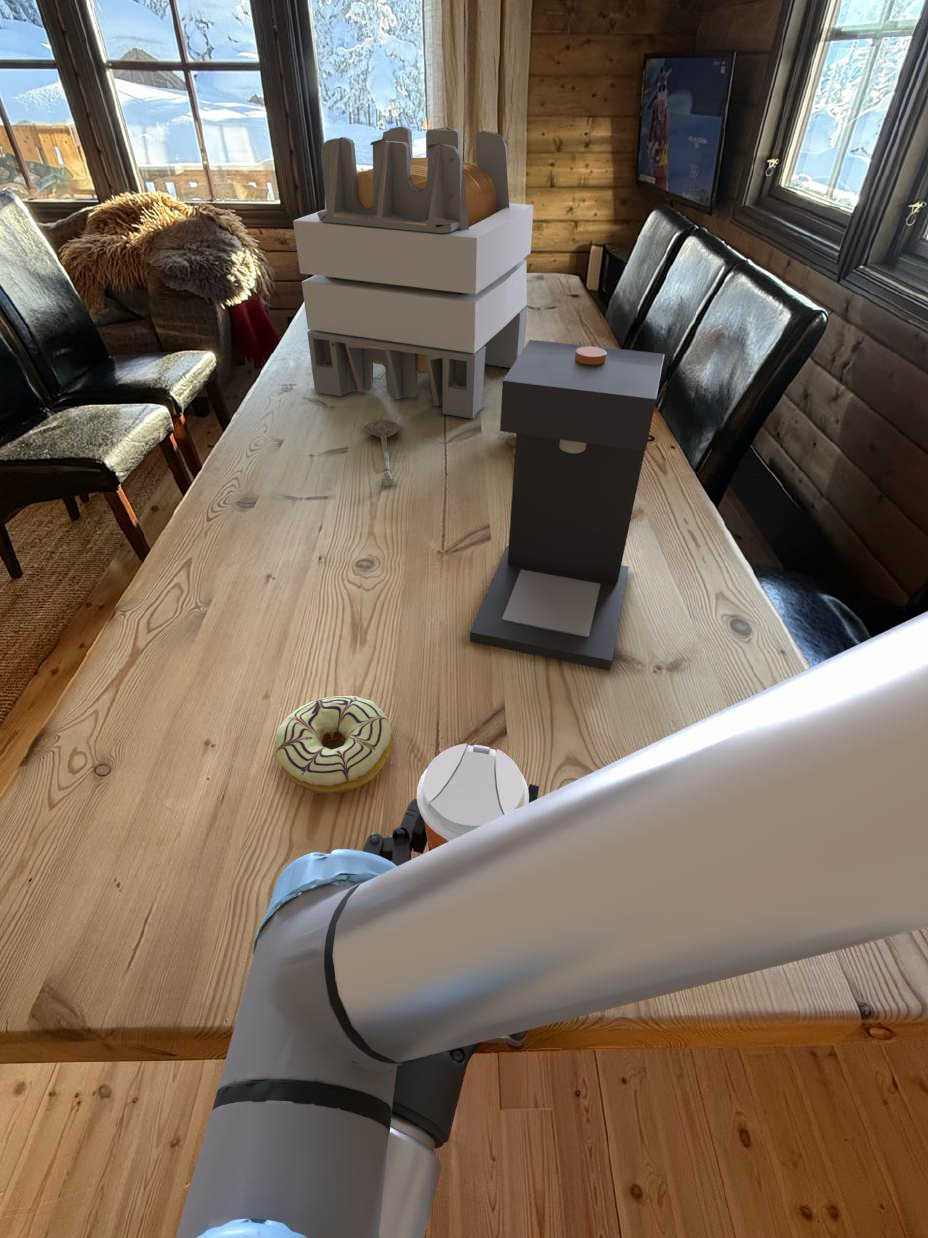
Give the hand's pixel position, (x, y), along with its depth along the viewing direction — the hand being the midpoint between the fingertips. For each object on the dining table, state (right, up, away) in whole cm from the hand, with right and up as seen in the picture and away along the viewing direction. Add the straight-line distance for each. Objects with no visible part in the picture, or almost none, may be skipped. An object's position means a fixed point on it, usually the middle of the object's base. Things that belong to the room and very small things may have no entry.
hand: (487, 784), depth 52 cm
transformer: (-10, +63, +84) cm, 105 cm away
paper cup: (-2, -9, +1) cm, 9 cm away
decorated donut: (-14, 0, +11) cm, 18 cm away
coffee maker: (+9, +14, +27) cm, 32 cm away
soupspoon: (-15, +40, +57) cm, 72 cm away
